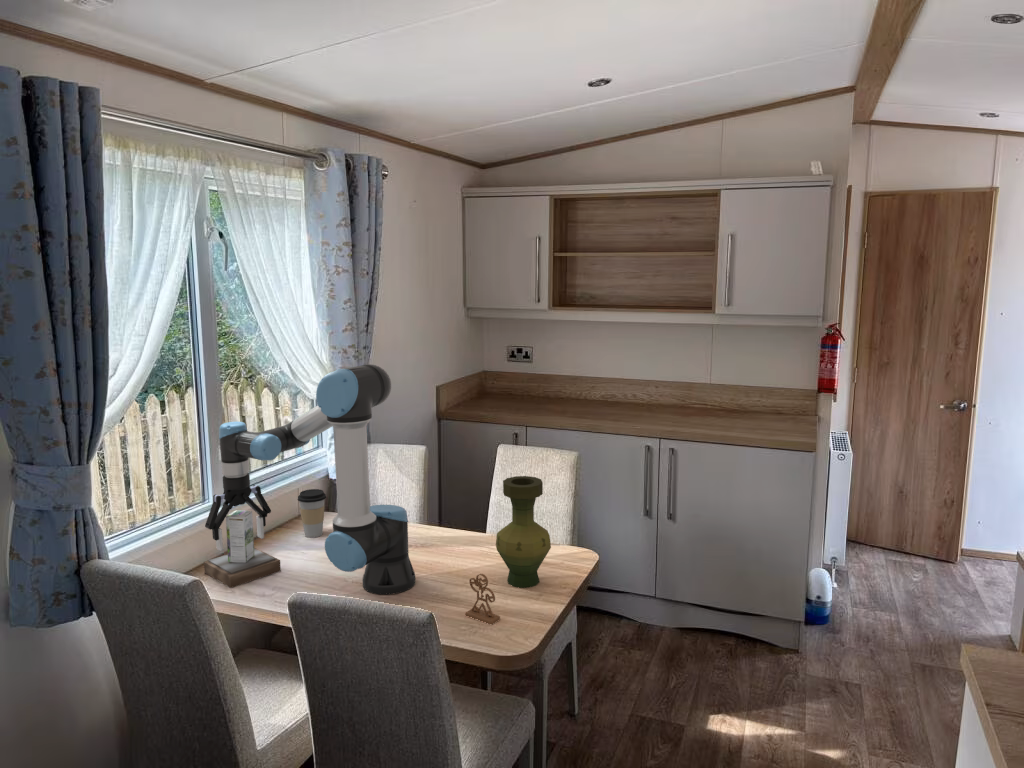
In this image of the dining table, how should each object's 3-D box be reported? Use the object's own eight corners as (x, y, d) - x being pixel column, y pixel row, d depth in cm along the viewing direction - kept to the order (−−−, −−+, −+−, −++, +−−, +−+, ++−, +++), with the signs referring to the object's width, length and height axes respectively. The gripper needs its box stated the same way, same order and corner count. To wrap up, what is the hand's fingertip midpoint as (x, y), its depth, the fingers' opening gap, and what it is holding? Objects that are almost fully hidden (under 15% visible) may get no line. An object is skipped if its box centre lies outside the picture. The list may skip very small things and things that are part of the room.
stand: (280, 570, 229) (279, 558, 229) (230, 587, 218) (229, 574, 217) (253, 557, 240) (252, 545, 239) (204, 572, 228) (203, 560, 228)
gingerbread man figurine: (500, 619, 198) (500, 575, 196) (491, 625, 194) (490, 580, 192) (473, 610, 203) (473, 567, 201) (464, 615, 200) (463, 572, 198)
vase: (488, 574, 225) (486, 477, 221) (538, 566, 231) (537, 471, 226) (507, 597, 210) (506, 493, 205) (560, 587, 216) (560, 486, 211)
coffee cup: (299, 531, 263) (296, 489, 260) (327, 528, 265) (325, 487, 263) (300, 541, 254) (297, 498, 251) (329, 537, 256) (326, 495, 254)
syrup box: (237, 555, 231) (233, 509, 229) (255, 556, 231) (252, 510, 228) (228, 562, 226) (224, 515, 223) (246, 563, 225) (243, 516, 223)
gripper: (267, 463, 235) (271, 529, 239) (189, 481, 218) (194, 551, 221) (280, 467, 230) (284, 535, 234) (201, 486, 213) (207, 558, 216)
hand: (240, 543), depth 227 cm, fingers open, 12 cm apart
